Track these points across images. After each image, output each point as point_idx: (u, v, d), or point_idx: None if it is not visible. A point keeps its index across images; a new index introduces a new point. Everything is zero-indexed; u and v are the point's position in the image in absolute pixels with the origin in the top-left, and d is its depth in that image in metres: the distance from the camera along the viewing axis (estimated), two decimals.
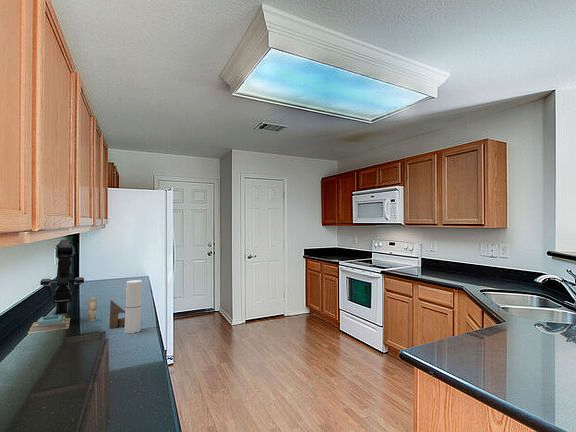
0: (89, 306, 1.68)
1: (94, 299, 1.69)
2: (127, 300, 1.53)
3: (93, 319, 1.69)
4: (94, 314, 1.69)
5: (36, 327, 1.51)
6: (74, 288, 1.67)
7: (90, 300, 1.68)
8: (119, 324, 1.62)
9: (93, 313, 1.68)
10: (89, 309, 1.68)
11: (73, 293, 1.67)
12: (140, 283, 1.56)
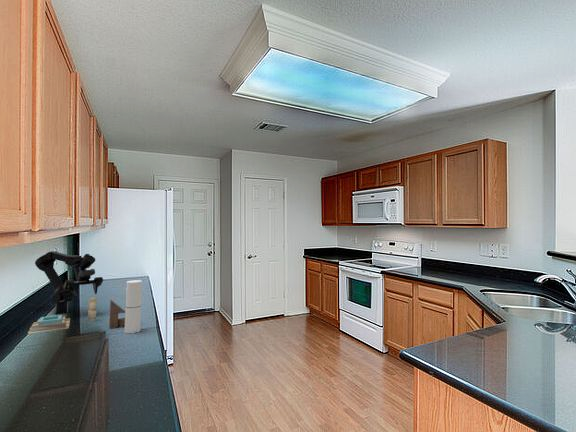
0: (89, 306, 1.68)
1: (94, 299, 1.69)
2: (127, 300, 1.53)
3: (93, 319, 1.69)
4: (94, 314, 1.69)
5: (36, 327, 1.51)
6: (96, 285, 1.81)
7: (90, 300, 1.68)
8: (119, 324, 1.62)
9: (93, 313, 1.68)
10: (89, 309, 1.68)
11: (96, 290, 1.79)
12: (140, 283, 1.56)
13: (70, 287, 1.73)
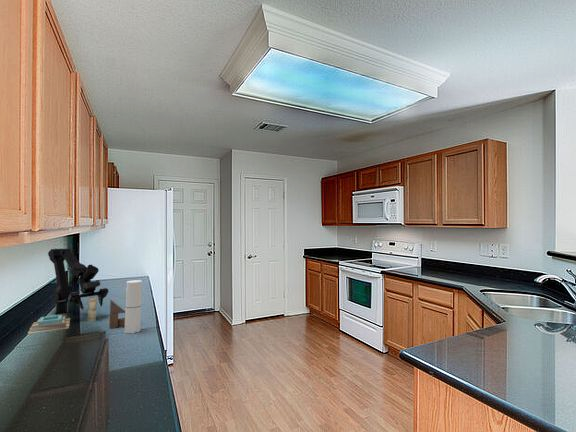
0: (89, 306, 1.68)
1: (94, 299, 1.69)
2: (127, 300, 1.53)
3: (93, 319, 1.69)
4: (94, 314, 1.69)
5: (36, 327, 1.51)
6: (101, 297, 1.76)
7: (90, 300, 1.68)
8: (119, 324, 1.62)
9: (93, 313, 1.68)
10: (89, 309, 1.68)
11: (102, 302, 1.74)
12: (140, 283, 1.56)
13: (75, 299, 1.68)
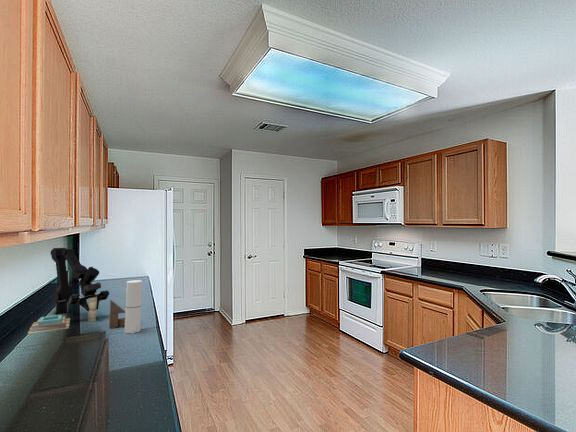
0: (89, 306, 1.68)
1: (94, 299, 1.69)
2: (127, 300, 1.53)
3: (93, 319, 1.69)
4: (94, 314, 1.69)
5: (36, 327, 1.51)
6: (97, 300, 1.73)
7: (90, 300, 1.68)
8: (119, 324, 1.62)
9: (93, 313, 1.68)
10: (89, 309, 1.68)
11: (98, 305, 1.72)
12: (140, 283, 1.56)
13: (81, 301, 1.69)
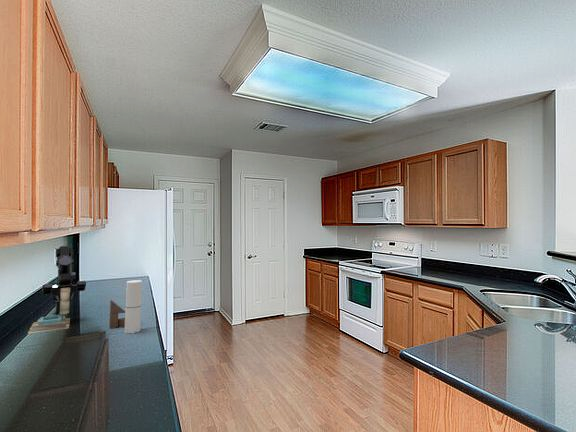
0: (61, 297, 1.60)
1: (66, 289, 1.60)
2: (127, 300, 1.53)
3: (65, 310, 1.60)
4: (66, 305, 1.60)
5: (36, 327, 1.51)
6: (71, 291, 1.64)
7: (62, 290, 1.60)
8: (119, 324, 1.62)
9: (64, 304, 1.60)
10: (61, 300, 1.60)
11: (71, 296, 1.63)
12: (140, 283, 1.56)
13: (54, 291, 1.61)
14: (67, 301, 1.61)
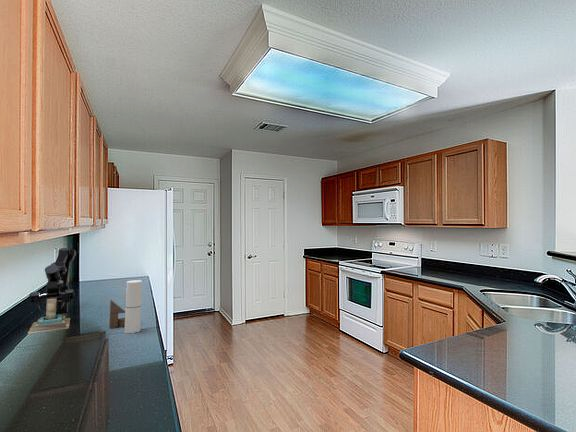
0: (46, 307, 1.57)
1: (51, 300, 1.58)
2: (127, 300, 1.53)
3: None
4: (51, 316, 1.58)
5: (36, 327, 1.51)
6: (62, 299, 1.62)
7: (47, 301, 1.57)
8: (119, 324, 1.62)
9: (50, 315, 1.57)
10: (46, 310, 1.57)
11: (61, 304, 1.61)
12: (140, 283, 1.56)
13: (36, 300, 1.58)
14: (53, 312, 1.58)
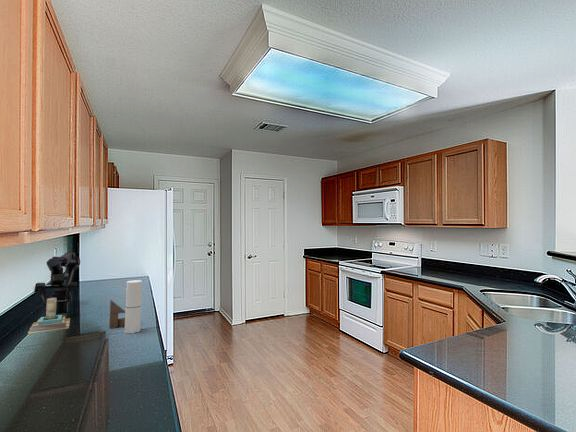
0: (46, 307, 1.57)
1: (51, 300, 1.58)
2: (127, 300, 1.53)
3: None
4: (51, 316, 1.58)
5: (36, 327, 1.51)
6: (68, 291, 1.72)
7: (47, 301, 1.57)
8: (119, 324, 1.62)
9: (50, 315, 1.57)
10: (46, 310, 1.57)
11: (67, 296, 1.71)
12: (140, 283, 1.56)
13: (40, 290, 1.66)
14: (53, 312, 1.58)
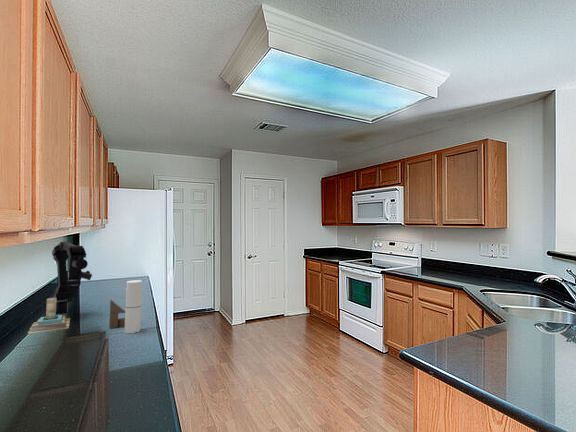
0: (46, 307, 1.57)
1: (51, 300, 1.58)
2: (127, 300, 1.53)
3: None
4: (51, 316, 1.58)
5: (36, 327, 1.51)
6: None
7: (47, 301, 1.57)
8: (119, 324, 1.62)
9: (50, 315, 1.57)
10: (46, 310, 1.57)
11: None
12: (140, 283, 1.56)
13: (73, 285, 1.70)
14: (53, 312, 1.58)
